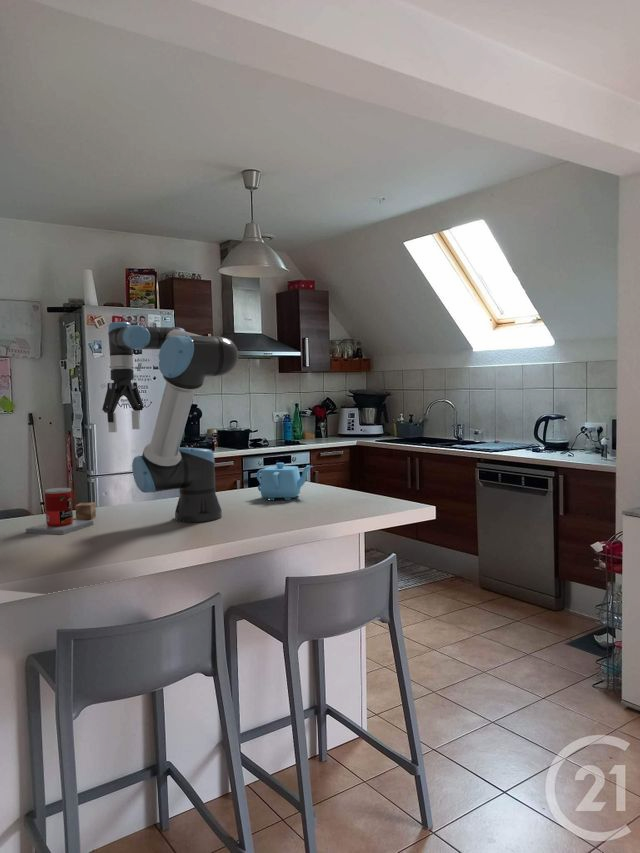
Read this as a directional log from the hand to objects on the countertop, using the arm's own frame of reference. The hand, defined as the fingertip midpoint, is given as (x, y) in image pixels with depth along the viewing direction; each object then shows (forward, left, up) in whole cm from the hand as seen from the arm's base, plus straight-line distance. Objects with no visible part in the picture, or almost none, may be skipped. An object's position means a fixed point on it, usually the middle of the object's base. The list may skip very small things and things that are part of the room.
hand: (124, 430), depth 228 cm
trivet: (+8, +25, -29) cm, 39 cm away
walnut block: (+10, +10, -29) cm, 32 cm away
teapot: (-43, -38, -29) cm, 64 cm away
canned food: (+8, +25, -28) cm, 38 cm away
